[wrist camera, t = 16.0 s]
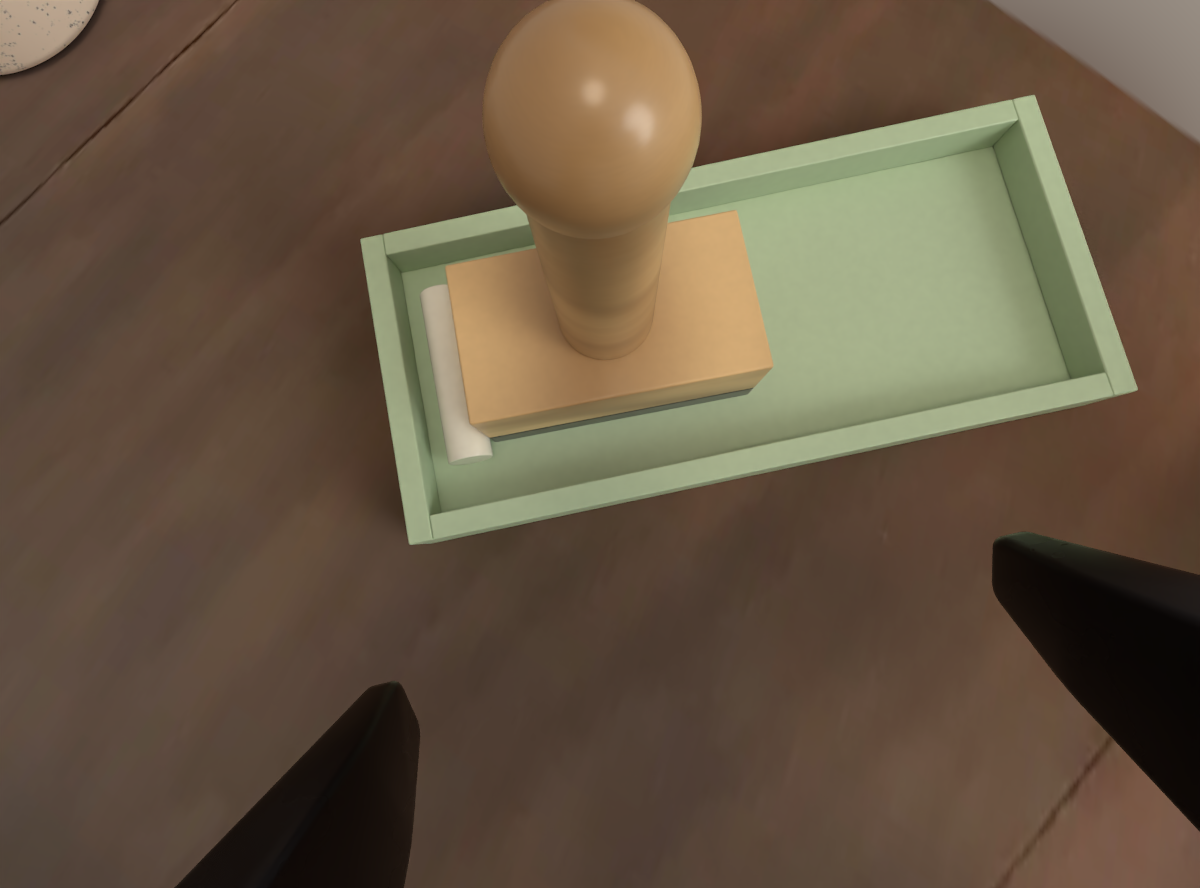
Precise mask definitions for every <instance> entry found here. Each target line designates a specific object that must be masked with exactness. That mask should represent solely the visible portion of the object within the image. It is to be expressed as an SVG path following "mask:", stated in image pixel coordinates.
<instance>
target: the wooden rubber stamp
mask: <svg viewBox="0 0 1200 888" xmlns="http://www.w3.org/2000/svg"><path fill="white" fill-rule="evenodd" d="M482 118H483V131H484V139H485V143H486V147H487V151H488V155H489V159H490V161H491V164H492V166H493V169H494V171H495V173H496V175H497V177H498V179H499V181H500V183H501V184H502V186H503V188H504V189H505V191H506V192H507V193H508V195H509V196H510V197H511V198H512V200H513V201H514V202H515V203H516V205H517V206H518V207H519V208H520V209H521V210H522V211H523V212H525V213H526V216H527V219H528V222H529V226H530V229H531V232H532V236H533V239H534V242H535V246H536V248H534V249H529V250H524V251H519V252H514V253H508V254H503V255H498V256H493V257H488V258H482V259H477V260H472V261H467V262H462V263H456V264H451V265H447V266H446V267H445V271H446V278H447V284H448V290H449V297H450V303H451V310H452V316H453V322H454V329H455V335H456V341H457V348H458V354H459V361H460V367H461V373H462V380H463V386H464V393H465V399H466V405H467V412H468V418H469V423H470V425H472V426H473V427H475V428H476V429H477V430H479V431H480V432H482V433H483V434H485V435H486V436H487V437H489V438H490V439H492V440H493V441H494V442H500V441H505V440H511V439H516V438H521V437H526V436H532V435H537V434H542V433H547V432H553V431H558V430H563V429H568V428H574V427H579V426H584V425H590V424H595V423H600V422H605V421H611V420H616V419H621V418H626V417H632V416H637V415H642V414H647V413H653V412H658V411H663V410H669V409H674V408H679V407H684V406H690V405H695V404H700V403H705V402H711V401H716V400H721V399H727V398H732V397H737V396H742V395H747V394H749V393H750V391H751V390H752V389H753V388H754V387H755V386H756V385H757V384H758V383H759V382H760V381H761V380H762V378H763V377H764V376H765V375H766V374H767V373H768V372H769V371H770V370H771V369H772V368H773V365H774V364H773V360H772V356H771V352H770V347H769V343H768V339H767V335H766V331H765V326H764V322H763V318H762V314H761V309H760V305H759V301H758V297H757V292H756V288H755V284H754V280H753V276H752V271H751V267H750V263H749V259H748V254H747V250H746V246H745V242H744V237H743V233H742V229H741V225H740V221H739V216H738V212H737V211H736V210H732V211H727V212H722V213H717V214H711V215H706V216H701V217H696V218H690V219H685V220H680V221H675V222H670V223H668V217H669V210H670V204H671V201H672V200H673V199H674V197H675V196H676V195H677V194H678V192H679V190H680V189H681V187H682V186H683V184H684V182H685V180H686V179H687V177H688V175H689V173H690V170H691V168H692V166H693V163H694V160H695V156H696V153H697V149H698V146H699V140H700V133H701V123H702V108H701V98H700V91H699V85H698V82H697V79H696V75H695V72H694V69H693V66H692V63H691V61H690V59H689V57H688V54H687V52H686V51H685V49H684V47H683V45H682V44H681V42H680V41H679V39H678V38H677V36H676V35H675V33H674V32H673V31H672V30H671V29H670V28H669V26H668V25H667V24H666V23H665V22H664V21H663V20H662V19H661V18H660V17H658V16H657V15H656V14H655V13H654V12H653V11H651V10H650V9H648V8H647V7H645V6H644V5H642V4H640V3H638V2H636V1H634V0H548V1H547V2H545V3H543V4H541V5H540V6H538V7H537V8H535V9H534V10H532V11H531V12H529V13H528V14H527V15H526V16H525V17H523V18H522V19H521V20H520V21H519V22H518V23H517V24H516V25H515V26H514V28H513V29H512V30H511V31H510V33H509V34H508V35H507V37H506V38H505V40H504V41H503V43H502V44H501V46H500V47H499V49H498V51H497V53H496V55H495V57H494V60H493V62H492V65H491V68H490V71H489V74H488V77H487V80H486V86H485V91H484V97H483V110H482Z"/></svg>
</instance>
